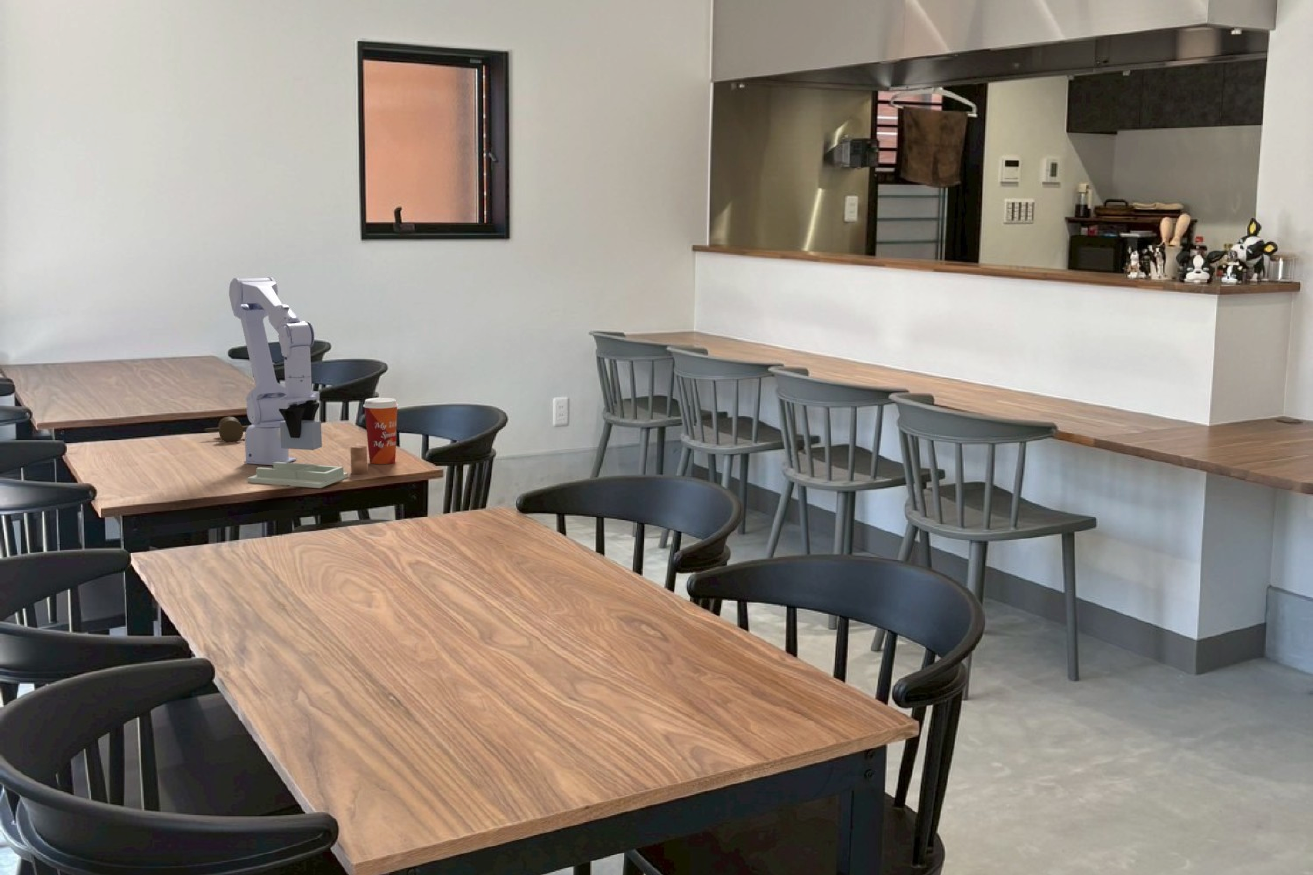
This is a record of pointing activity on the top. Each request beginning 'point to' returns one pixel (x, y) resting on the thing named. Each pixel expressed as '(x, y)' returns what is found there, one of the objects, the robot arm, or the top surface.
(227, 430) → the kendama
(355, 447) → the tail peg
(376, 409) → the coffee cup
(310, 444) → the grey-blue box block
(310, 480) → the tray
